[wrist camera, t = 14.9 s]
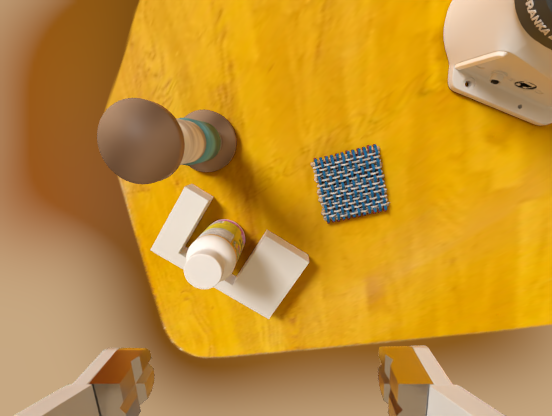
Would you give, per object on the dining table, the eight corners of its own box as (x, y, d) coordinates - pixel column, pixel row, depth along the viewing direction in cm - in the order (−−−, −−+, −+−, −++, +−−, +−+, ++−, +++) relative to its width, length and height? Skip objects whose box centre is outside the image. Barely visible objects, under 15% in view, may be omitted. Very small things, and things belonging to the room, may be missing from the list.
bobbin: (247, 131, 42) (210, 124, 23) (218, 182, 44) (161, 214, 25) (195, 98, 42) (111, 61, 22) (168, 151, 44) (69, 159, 24)
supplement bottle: (236, 262, 47) (216, 305, 35) (200, 245, 47) (167, 283, 34) (252, 228, 46) (238, 261, 33) (215, 210, 45) (187, 237, 33)
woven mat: (322, 223, 46) (324, 227, 44) (308, 158, 43) (309, 159, 41) (388, 209, 44) (392, 212, 42) (377, 142, 42) (381, 142, 40)
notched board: (308, 254, 46) (309, 262, 43) (269, 308, 49) (268, 319, 46) (192, 183, 45) (185, 186, 42) (158, 243, 47) (150, 250, 44)
